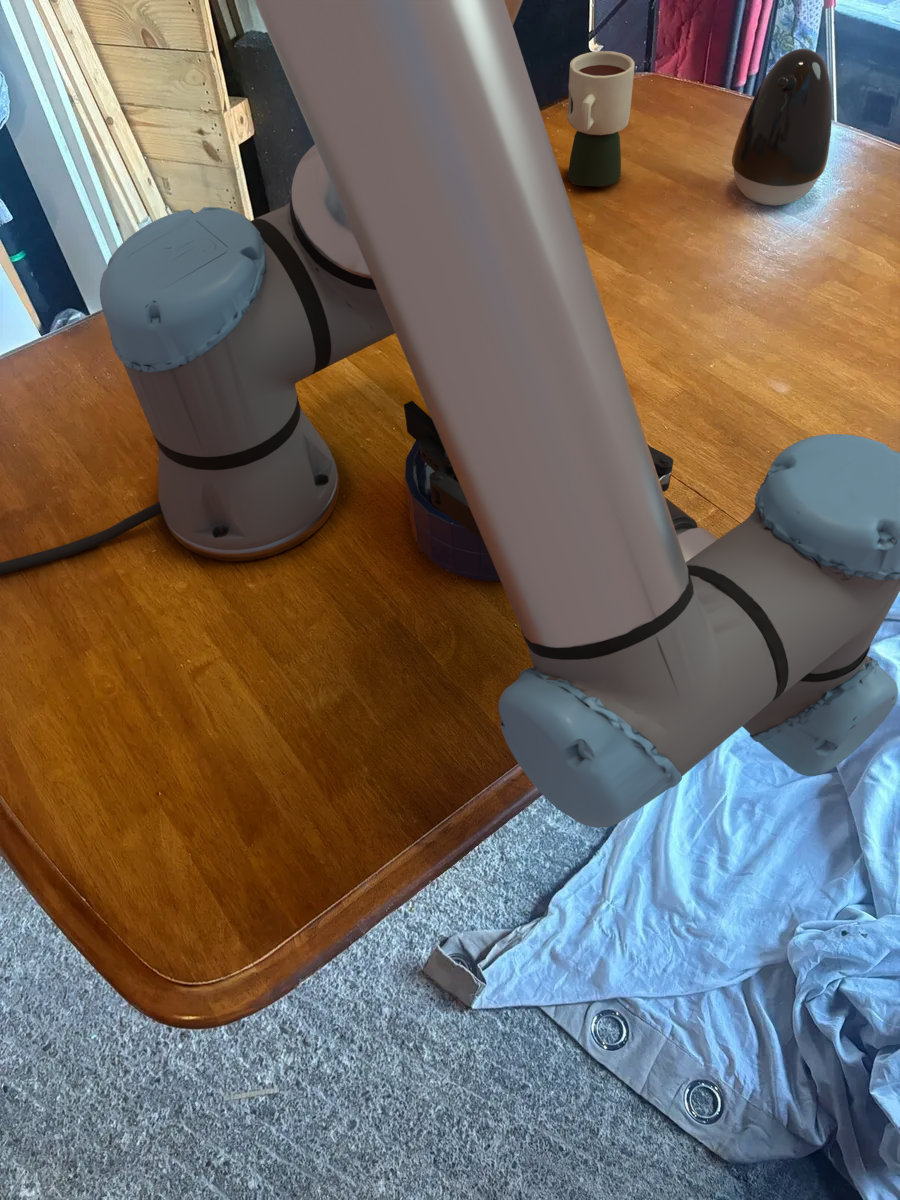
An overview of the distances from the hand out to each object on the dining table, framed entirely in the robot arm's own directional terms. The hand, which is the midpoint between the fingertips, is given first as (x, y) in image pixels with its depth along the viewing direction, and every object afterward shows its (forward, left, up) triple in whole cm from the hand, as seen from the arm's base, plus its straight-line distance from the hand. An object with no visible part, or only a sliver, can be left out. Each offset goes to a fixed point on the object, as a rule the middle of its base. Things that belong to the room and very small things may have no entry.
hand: (455, 393), depth 69 cm
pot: (0, -5, -10) cm, 11 cm away
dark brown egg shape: (+56, +16, -10) cm, 59 cm away
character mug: (+43, +32, -10) cm, 55 cm away
